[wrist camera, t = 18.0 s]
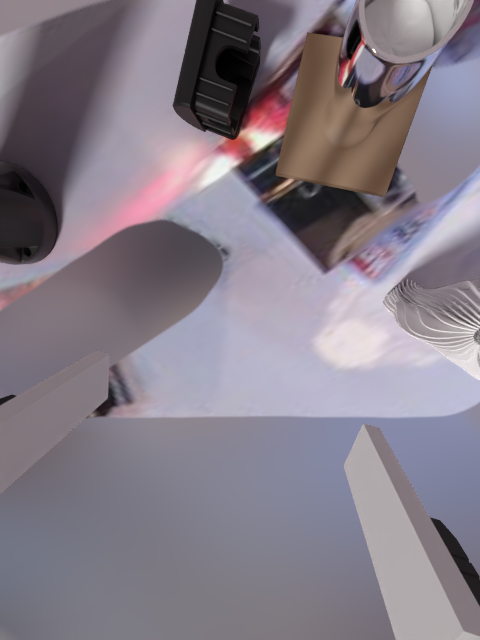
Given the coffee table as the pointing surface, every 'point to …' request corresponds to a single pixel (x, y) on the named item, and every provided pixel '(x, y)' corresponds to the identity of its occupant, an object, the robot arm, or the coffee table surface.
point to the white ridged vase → (442, 319)
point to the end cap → (218, 68)
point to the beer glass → (385, 60)
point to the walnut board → (317, 152)
